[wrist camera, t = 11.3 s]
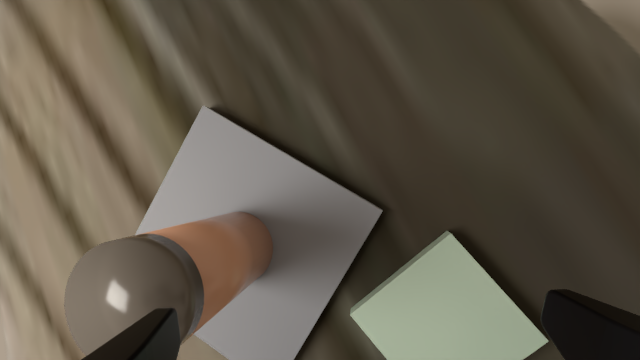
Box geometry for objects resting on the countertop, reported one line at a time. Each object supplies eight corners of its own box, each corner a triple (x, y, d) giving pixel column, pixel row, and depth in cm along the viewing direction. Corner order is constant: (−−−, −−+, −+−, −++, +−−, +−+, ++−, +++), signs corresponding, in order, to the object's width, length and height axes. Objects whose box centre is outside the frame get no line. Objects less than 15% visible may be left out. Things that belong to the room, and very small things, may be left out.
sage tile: (539, 332, 19) (548, 341, 18) (434, 408, 20) (438, 420, 19) (446, 230, 20) (450, 233, 19) (350, 308, 21) (350, 314, 20)
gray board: (382, 209, 20) (382, 210, 20) (277, 384, 21) (274, 392, 21) (209, 107, 22) (203, 105, 21) (122, 273, 23) (113, 276, 23)
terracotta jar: (283, 227, 21) (201, 272, 11) (258, 294, 21) (156, 398, 11) (219, 201, 21) (87, 219, 11) (196, 265, 22) (48, 339, 12)
